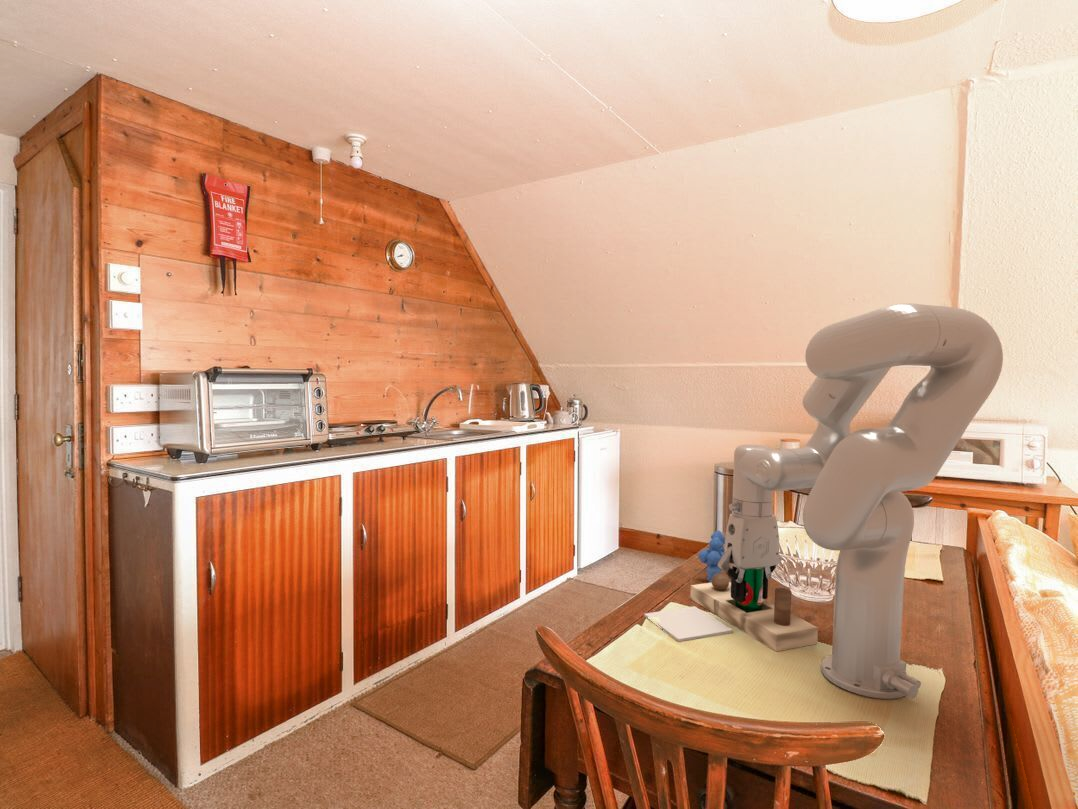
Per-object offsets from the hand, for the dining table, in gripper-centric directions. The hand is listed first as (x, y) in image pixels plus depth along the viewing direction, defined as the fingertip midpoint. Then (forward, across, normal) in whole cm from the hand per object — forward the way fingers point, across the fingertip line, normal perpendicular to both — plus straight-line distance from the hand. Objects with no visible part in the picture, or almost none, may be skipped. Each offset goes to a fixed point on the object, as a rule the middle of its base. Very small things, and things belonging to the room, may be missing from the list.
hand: (749, 597), depth 118 cm
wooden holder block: (+4, 0, 0) cm, 4 cm away
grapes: (+5, +6, +20) cm, 21 cm away
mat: (+4, -13, +2) cm, 14 cm away
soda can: (+5, 0, 0) cm, 5 cm away
